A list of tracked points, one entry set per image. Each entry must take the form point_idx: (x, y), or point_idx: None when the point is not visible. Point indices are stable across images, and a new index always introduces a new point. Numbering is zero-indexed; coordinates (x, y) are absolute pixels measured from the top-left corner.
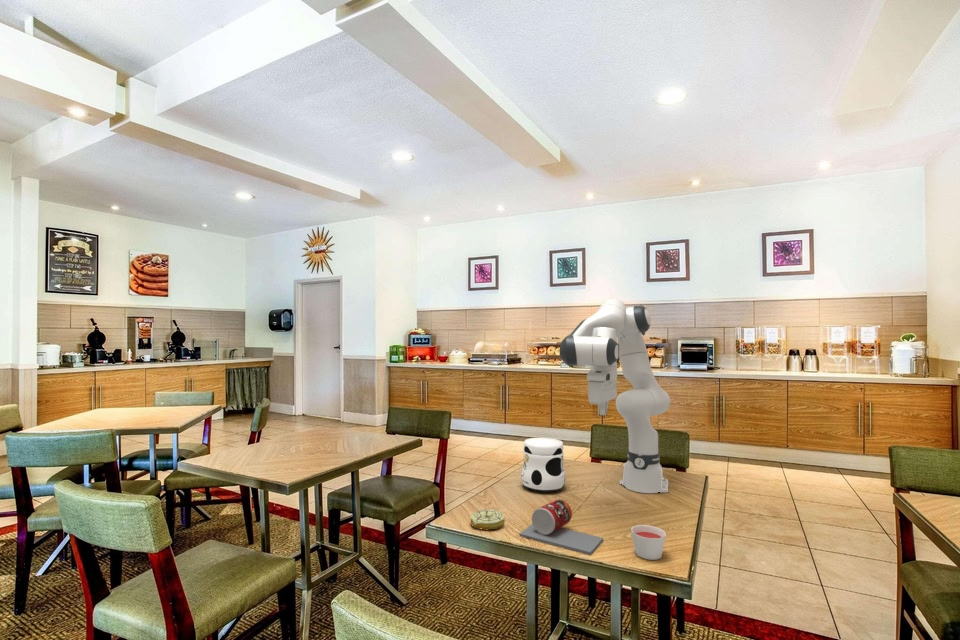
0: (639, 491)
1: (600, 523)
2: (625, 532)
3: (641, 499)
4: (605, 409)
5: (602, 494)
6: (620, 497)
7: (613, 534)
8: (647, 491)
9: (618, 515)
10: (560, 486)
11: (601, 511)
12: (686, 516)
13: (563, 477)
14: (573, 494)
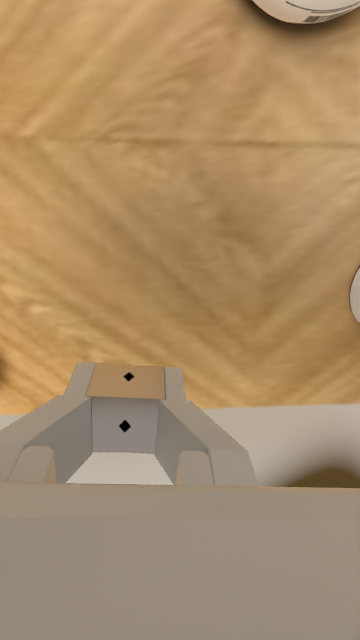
0: (353, 285)
1: (68, 234)
2: (50, 300)
3: (299, 296)
4: (133, 447)
5: (305, 185)
6: (296, 242)
7: (20, 278)
8: (353, 306)
9: (150, 265)
10: (274, 16)
11: (156, 216)
12: (220, 395)
13: (304, 11)
14: (270, 85)
